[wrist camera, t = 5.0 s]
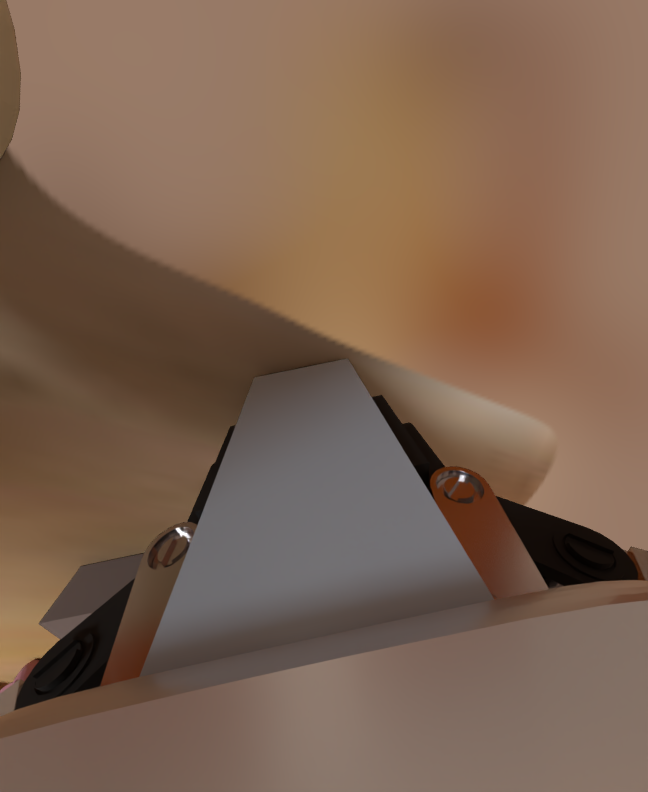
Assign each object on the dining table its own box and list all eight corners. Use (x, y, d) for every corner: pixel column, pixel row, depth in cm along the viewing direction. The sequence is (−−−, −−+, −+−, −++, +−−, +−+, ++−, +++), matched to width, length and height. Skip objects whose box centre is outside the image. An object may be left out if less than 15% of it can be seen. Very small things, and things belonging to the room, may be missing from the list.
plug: (254, 377, 12) (122, 722, 3) (347, 358, 12) (516, 635, 3) (278, 452, 14) (247, 793, 5) (358, 435, 14) (477, 741, 5)
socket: (80, 566, 16) (38, 623, 14) (263, 528, 16) (256, 578, 14) (164, 647, 22) (146, 700, 19) (302, 619, 22) (303, 667, 19)
